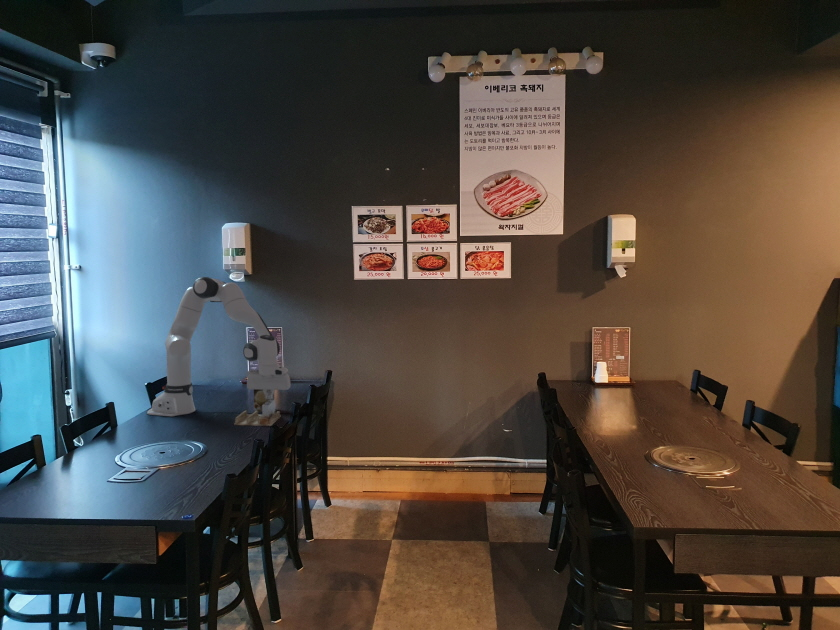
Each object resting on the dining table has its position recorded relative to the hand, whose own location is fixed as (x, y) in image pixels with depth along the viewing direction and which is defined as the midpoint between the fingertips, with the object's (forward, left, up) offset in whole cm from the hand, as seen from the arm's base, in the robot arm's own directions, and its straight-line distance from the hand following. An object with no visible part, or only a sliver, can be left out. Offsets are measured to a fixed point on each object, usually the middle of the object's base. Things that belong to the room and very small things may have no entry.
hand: (269, 398), depth 281 cm
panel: (0, 0, -10) cm, 10 cm away
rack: (-6, 0, -11) cm, 12 cm away
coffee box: (-9, +18, -11) cm, 23 cm away
